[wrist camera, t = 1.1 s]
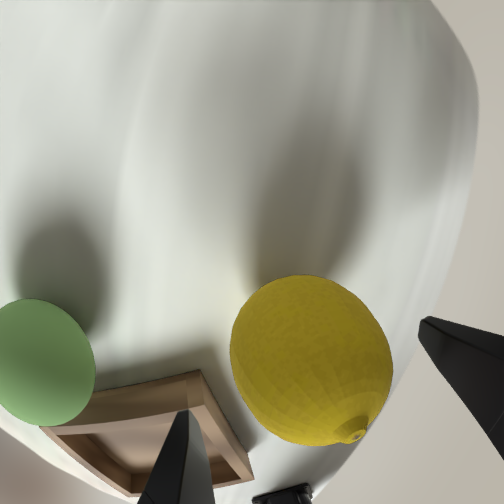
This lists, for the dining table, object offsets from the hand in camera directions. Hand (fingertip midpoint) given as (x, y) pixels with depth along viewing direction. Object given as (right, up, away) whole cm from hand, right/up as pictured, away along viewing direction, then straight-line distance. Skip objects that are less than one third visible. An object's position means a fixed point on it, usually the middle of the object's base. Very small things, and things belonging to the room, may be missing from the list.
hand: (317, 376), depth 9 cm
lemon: (-1, +2, +5) cm, 5 cm away
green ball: (-12, +1, +3) cm, 12 cm away
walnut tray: (-9, -8, +7) cm, 14 cm away
